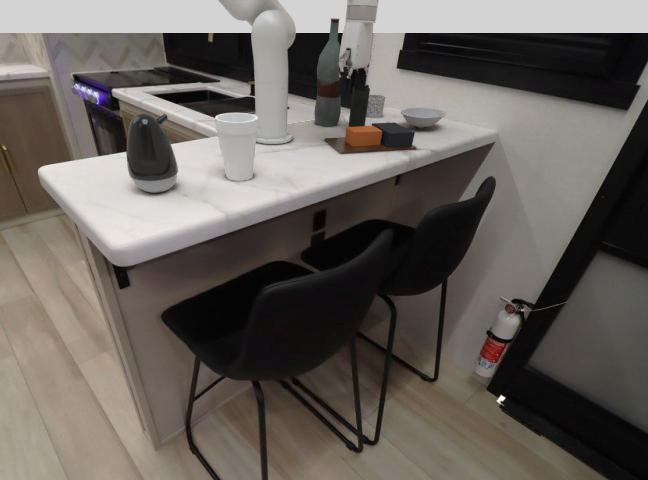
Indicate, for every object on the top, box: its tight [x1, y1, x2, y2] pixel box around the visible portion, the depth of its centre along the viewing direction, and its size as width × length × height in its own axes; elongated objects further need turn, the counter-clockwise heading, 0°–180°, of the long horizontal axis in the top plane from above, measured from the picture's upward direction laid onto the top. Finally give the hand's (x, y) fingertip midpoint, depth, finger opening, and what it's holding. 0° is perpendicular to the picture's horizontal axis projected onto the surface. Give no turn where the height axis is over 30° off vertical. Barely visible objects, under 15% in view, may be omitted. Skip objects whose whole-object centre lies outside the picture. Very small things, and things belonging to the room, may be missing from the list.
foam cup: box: [214, 112, 258, 182], centre depth 87 cm, size 10×9×13 cm
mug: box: [366, 94, 386, 119], centre depth 144 cm, size 10×7×7 cm, turn 113°
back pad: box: [371, 122, 416, 148], centre depth 115 cm, size 8×12×4 cm, turn 15°
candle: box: [347, 61, 371, 127], centre depth 121 cm, size 5×5×25 cm
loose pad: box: [344, 125, 382, 147], centre depth 113 cm, size 9×6×4 cm, turn 105°
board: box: [324, 136, 417, 155], centre depth 115 cm, size 24×14×1 cm, turn 105°
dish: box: [400, 107, 447, 129], centre depth 131 cm, size 18×14×5 cm
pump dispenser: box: [125, 112, 179, 194], centre depth 79 cm, size 10×10×15 cm
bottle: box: [313, 17, 342, 128], centre depth 125 cm, size 9×9×30 cm
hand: (351, 92), depth 104 cm, fingers open, 9 cm apart
